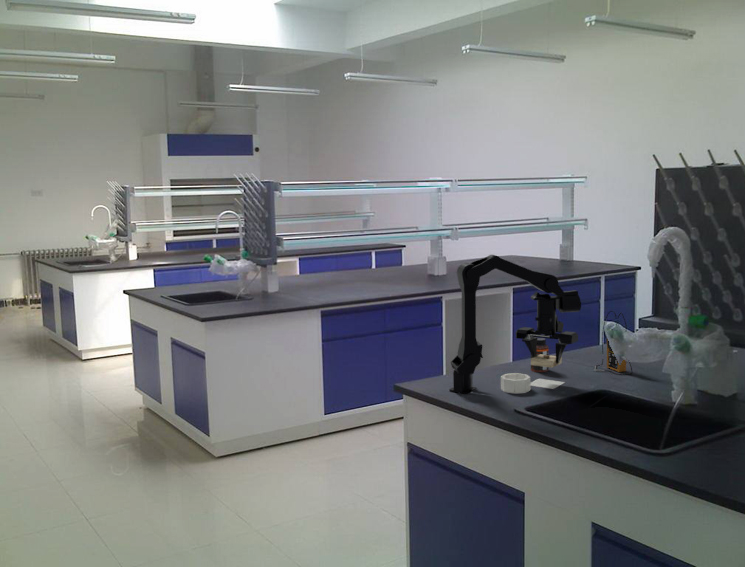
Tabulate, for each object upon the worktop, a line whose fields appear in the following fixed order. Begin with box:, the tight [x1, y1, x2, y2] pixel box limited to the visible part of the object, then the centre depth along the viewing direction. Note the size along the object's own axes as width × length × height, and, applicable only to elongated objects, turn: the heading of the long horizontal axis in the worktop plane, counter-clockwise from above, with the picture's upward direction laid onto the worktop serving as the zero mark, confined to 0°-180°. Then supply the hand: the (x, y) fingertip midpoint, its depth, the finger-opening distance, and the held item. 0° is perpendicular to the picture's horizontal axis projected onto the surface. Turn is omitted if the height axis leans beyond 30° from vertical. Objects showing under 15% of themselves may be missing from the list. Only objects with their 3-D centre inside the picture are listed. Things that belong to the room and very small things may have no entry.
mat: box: [530, 378, 566, 390], centre depth 230 cm, size 9×9×1 cm
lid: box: [530, 354, 563, 369], centre depth 229 cm, size 7×7×3 cm
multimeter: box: [594, 310, 633, 376], centre depth 244 cm, size 15×10×20 cm
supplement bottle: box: [530, 337, 550, 373], centre depth 247 cm, size 6×6×11 cm
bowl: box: [500, 372, 531, 394], centre depth 225 cm, size 8×8×4 cm
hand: (546, 362), depth 230 cm, fingers closed on lid, 7 cm apart
